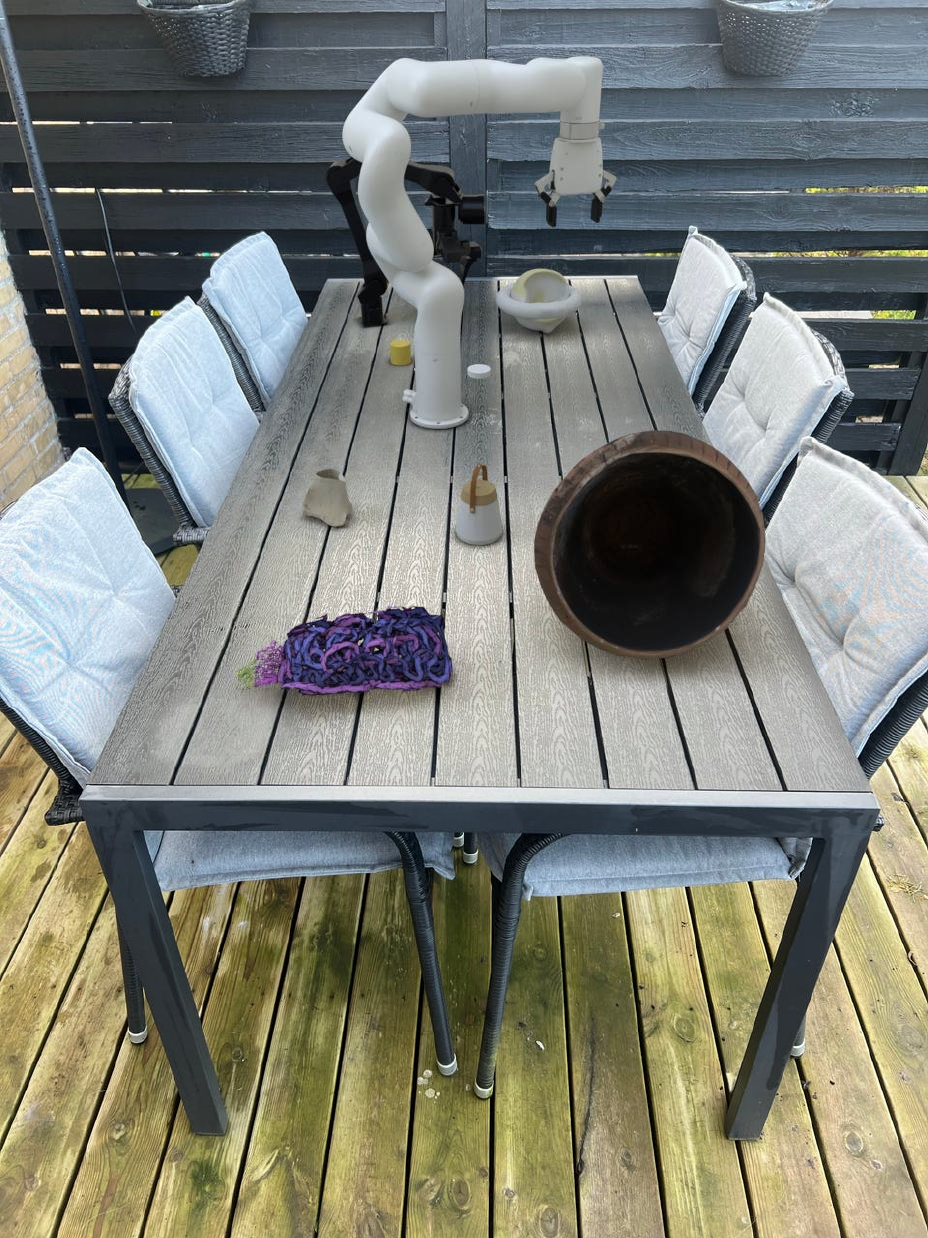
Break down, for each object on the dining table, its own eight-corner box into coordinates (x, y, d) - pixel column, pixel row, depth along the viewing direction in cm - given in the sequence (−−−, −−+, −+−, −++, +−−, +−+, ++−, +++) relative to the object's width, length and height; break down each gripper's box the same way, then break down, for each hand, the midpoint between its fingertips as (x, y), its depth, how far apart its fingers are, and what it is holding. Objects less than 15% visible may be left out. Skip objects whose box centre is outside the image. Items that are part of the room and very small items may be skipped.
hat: (489, 313, 250) (490, 256, 241) (569, 310, 251) (573, 252, 242) (502, 348, 230) (503, 287, 221) (589, 343, 232) (594, 283, 223)
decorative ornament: (458, 672, 122) (225, 684, 119) (455, 713, 130) (238, 725, 128) (450, 592, 130) (231, 602, 127) (447, 636, 138) (243, 646, 135)
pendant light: (493, 549, 158) (495, 382, 140) (448, 540, 161) (445, 375, 142) (508, 525, 164) (512, 362, 146) (465, 517, 167) (463, 355, 148)
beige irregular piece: (352, 523, 169) (358, 468, 167) (345, 530, 162) (351, 474, 159) (303, 516, 169) (308, 461, 167) (294, 523, 162) (299, 466, 159)
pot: (569, 390, 148) (614, 390, 119) (739, 473, 153) (822, 494, 124) (483, 572, 154) (505, 616, 125) (649, 647, 159) (708, 705, 130)
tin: (410, 357, 227) (410, 339, 224) (411, 365, 223) (410, 346, 220) (391, 357, 226) (390, 339, 224) (390, 365, 223) (389, 347, 220)
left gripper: (417, 236, 222) (419, 301, 231) (490, 228, 227) (489, 293, 236) (404, 224, 230) (406, 287, 240) (475, 217, 235) (474, 279, 245)
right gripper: (611, 124, 186) (604, 215, 196) (530, 130, 182) (527, 222, 192) (627, 131, 180) (619, 224, 190) (544, 137, 176) (541, 232, 186)
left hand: (445, 287), depth 240 cm, fingers open, 9 cm apart
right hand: (573, 223), depth 191 cm, fingers open, 9 cm apart
